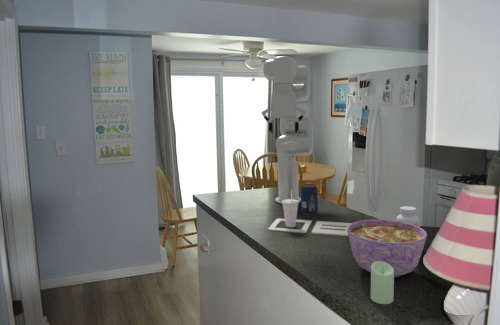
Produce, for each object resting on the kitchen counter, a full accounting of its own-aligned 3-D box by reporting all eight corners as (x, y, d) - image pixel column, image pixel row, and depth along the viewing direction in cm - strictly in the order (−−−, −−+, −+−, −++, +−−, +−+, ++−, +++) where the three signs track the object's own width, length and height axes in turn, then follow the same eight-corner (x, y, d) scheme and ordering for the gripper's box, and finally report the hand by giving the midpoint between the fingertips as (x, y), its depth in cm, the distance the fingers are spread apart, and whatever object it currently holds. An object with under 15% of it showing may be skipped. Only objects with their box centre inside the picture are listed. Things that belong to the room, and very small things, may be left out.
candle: (397, 303, 87) (398, 269, 86) (375, 305, 87) (376, 270, 85) (387, 293, 92) (388, 260, 91) (367, 294, 92) (367, 261, 90)
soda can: (307, 210, 168) (307, 183, 166) (320, 213, 163) (320, 185, 161) (297, 213, 163) (297, 185, 161) (310, 216, 158) (310, 187, 156)
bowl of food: (383, 252, 117) (384, 215, 116) (442, 277, 100) (444, 234, 98) (331, 266, 108) (331, 226, 107) (386, 295, 91) (387, 248, 89)
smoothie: (298, 228, 142) (298, 191, 140) (281, 228, 144) (280, 191, 142) (299, 223, 149) (299, 188, 147) (283, 223, 150) (282, 187, 148)
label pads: (276, 219, 155) (276, 218, 155) (354, 224, 146) (354, 223, 146) (267, 230, 142) (267, 228, 142) (352, 236, 133) (352, 234, 132)
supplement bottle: (401, 242, 125) (402, 204, 124) (422, 247, 121) (423, 207, 119) (391, 248, 121) (393, 208, 119) (413, 253, 116) (414, 212, 114)
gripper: (304, 89, 154) (305, 132, 156) (261, 90, 156) (262, 132, 158) (306, 87, 147) (306, 132, 149) (260, 89, 148) (261, 133, 150)
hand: (283, 132), depth 153 cm, fingers open, 9 cm apart
